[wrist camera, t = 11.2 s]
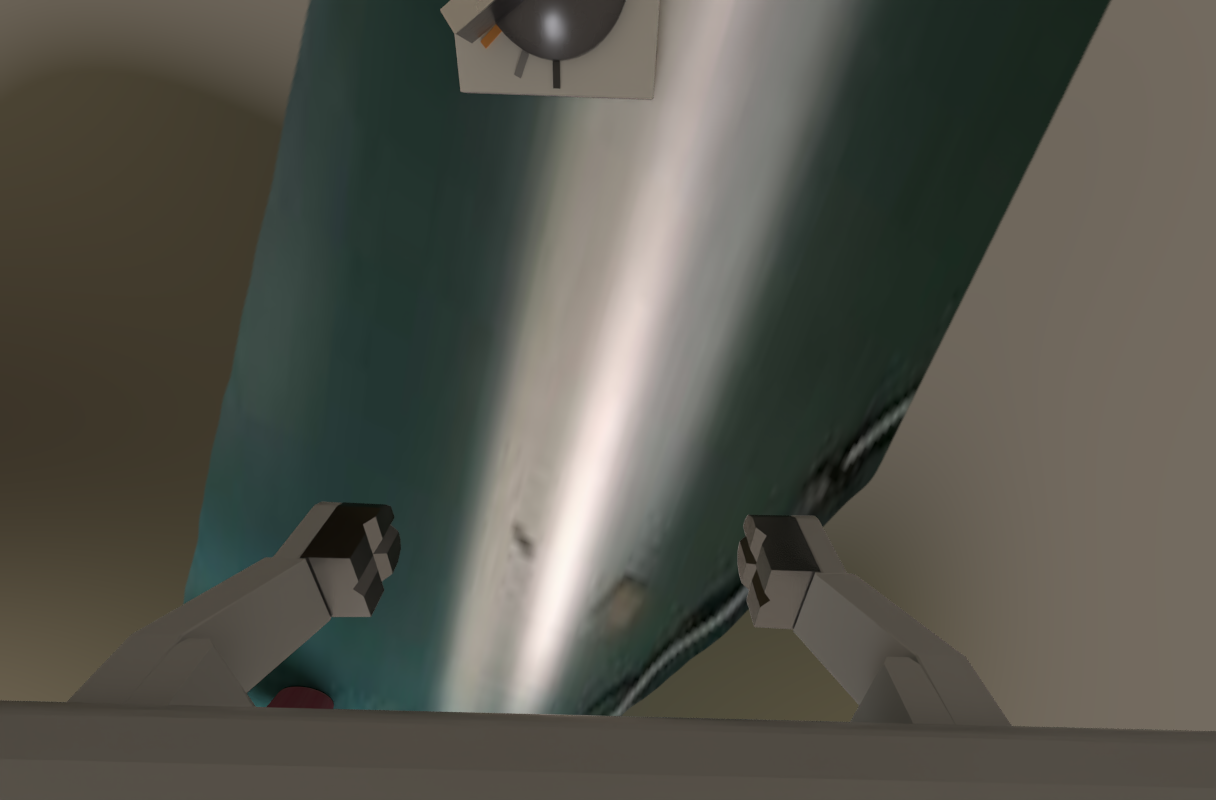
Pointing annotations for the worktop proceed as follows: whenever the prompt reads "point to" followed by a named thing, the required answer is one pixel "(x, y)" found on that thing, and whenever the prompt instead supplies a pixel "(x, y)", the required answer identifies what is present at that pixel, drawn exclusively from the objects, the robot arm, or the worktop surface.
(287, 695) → the plant pot
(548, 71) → the dial base
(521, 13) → the dial
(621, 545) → the worktop surface
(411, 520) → the worktop surface
